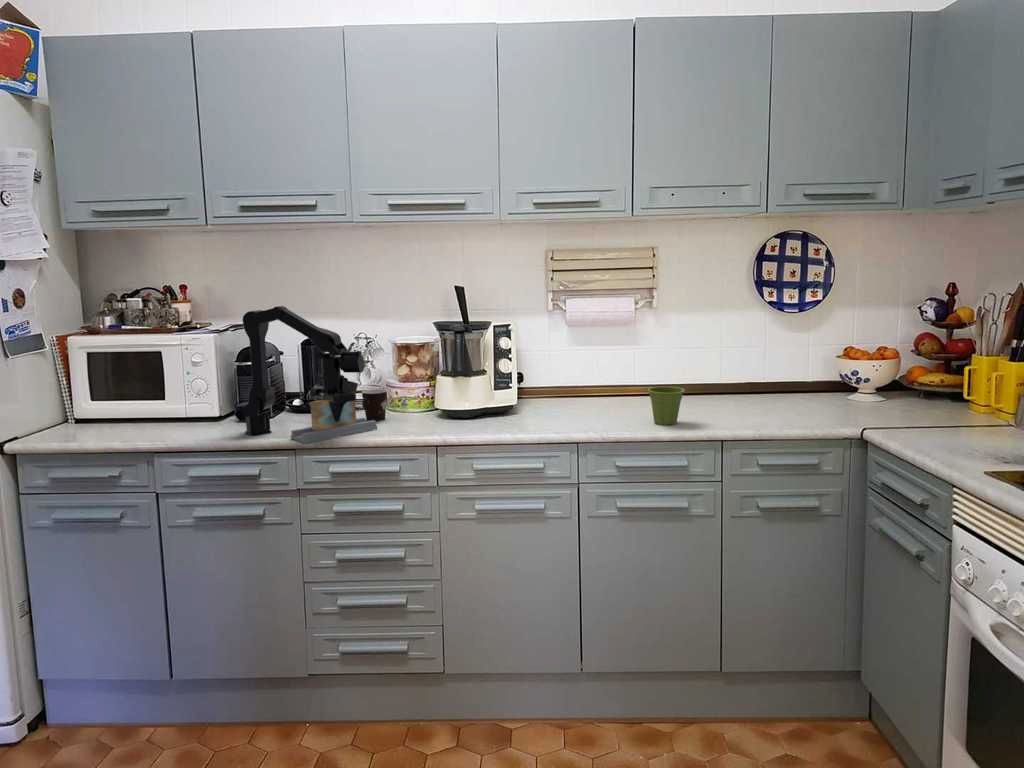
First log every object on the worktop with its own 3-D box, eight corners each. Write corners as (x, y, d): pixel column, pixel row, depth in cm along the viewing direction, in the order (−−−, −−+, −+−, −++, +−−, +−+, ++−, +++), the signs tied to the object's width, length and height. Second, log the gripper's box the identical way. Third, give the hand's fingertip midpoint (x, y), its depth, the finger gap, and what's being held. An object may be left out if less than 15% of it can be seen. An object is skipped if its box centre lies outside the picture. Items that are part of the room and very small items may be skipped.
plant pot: (650, 427, 247) (650, 392, 245) (645, 419, 259) (645, 386, 257) (687, 427, 246) (688, 392, 245) (680, 419, 258) (681, 386, 256)
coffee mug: (379, 416, 275) (377, 388, 273) (393, 419, 269) (391, 391, 267) (350, 421, 267) (349, 392, 265) (365, 424, 261) (363, 395, 259)
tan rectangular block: (318, 431, 241) (316, 403, 240) (312, 429, 244) (310, 401, 243) (356, 424, 251) (355, 397, 249) (350, 422, 254) (349, 395, 252)
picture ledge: (305, 443, 236) (304, 434, 235) (291, 439, 242) (290, 430, 242) (377, 429, 253) (376, 420, 253) (362, 425, 260) (361, 417, 259)
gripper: (369, 372, 243) (371, 420, 246) (338, 367, 257) (340, 413, 259) (338, 376, 236) (341, 426, 238) (307, 370, 249) (310, 418, 252)
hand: (334, 420), depth 247 cm, fingers closed on tan rectangular block, 4 cm apart
